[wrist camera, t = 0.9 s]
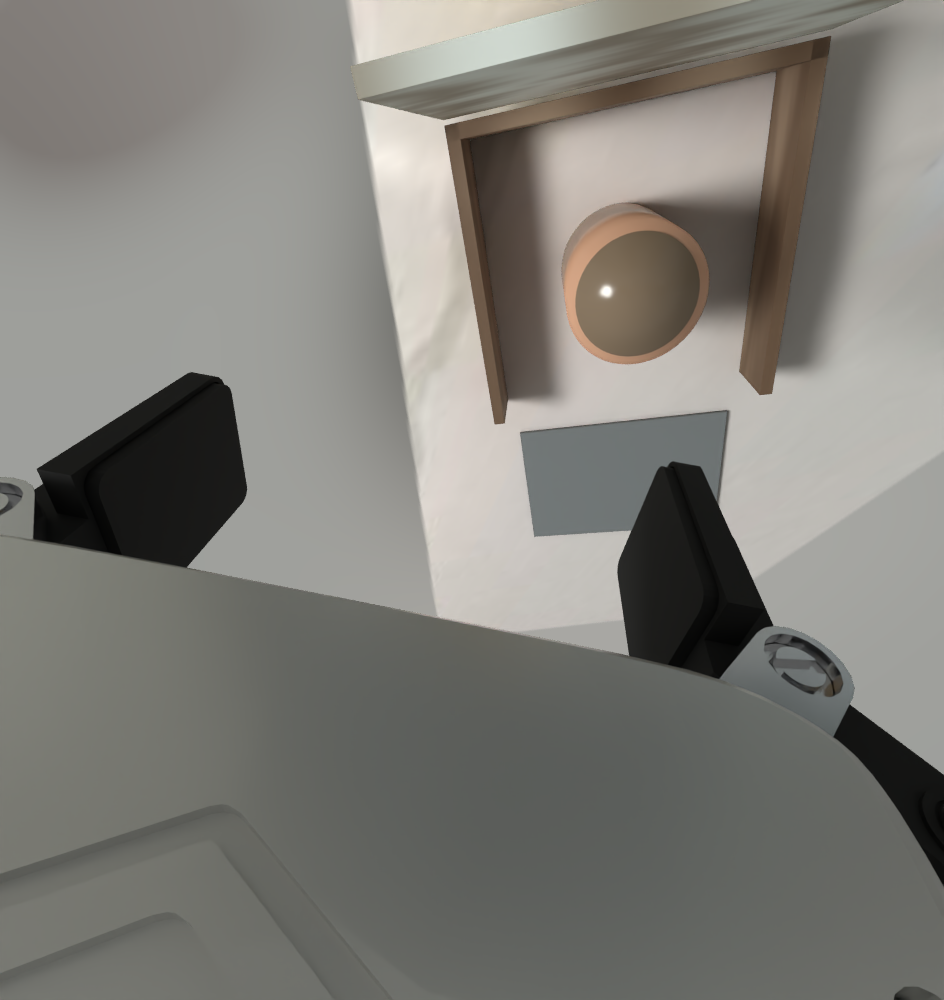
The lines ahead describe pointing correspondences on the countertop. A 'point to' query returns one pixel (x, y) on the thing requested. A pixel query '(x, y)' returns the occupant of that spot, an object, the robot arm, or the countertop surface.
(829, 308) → the countertop surface
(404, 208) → the countertop surface
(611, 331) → the flowerpot
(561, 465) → the potting mat
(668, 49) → the wooden bench
